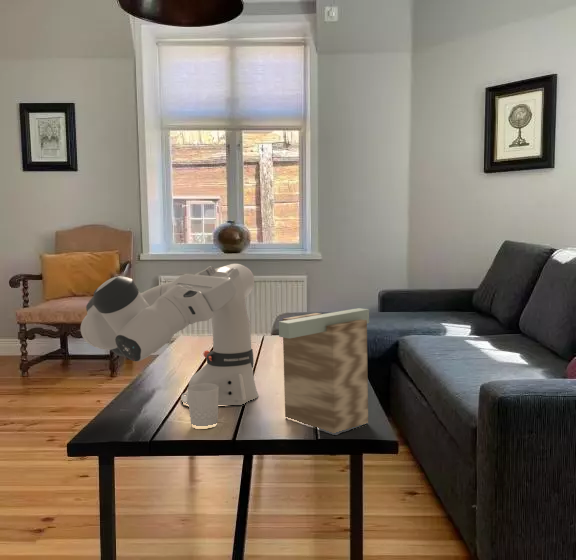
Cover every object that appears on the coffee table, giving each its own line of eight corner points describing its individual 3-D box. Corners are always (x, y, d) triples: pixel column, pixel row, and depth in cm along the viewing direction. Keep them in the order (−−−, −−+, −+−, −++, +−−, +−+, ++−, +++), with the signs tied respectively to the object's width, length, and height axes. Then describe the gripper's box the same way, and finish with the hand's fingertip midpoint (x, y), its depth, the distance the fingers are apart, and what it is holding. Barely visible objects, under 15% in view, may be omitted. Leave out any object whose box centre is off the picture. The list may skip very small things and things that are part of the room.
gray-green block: (289, 338, 140) (288, 323, 139) (279, 336, 142) (278, 321, 142) (369, 323, 157) (369, 309, 157) (358, 321, 160) (358, 308, 160)
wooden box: (334, 436, 148) (332, 326, 145) (285, 419, 161) (282, 318, 158) (368, 424, 155) (366, 320, 153) (318, 408, 169) (316, 312, 166)
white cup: (221, 420, 162) (219, 382, 161) (218, 430, 154) (217, 391, 153) (190, 421, 162) (189, 383, 161) (187, 431, 154) (185, 392, 153)
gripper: (164, 311, 147) (205, 278, 154) (213, 321, 131) (256, 283, 138) (151, 289, 144) (194, 257, 151) (199, 297, 129) (244, 260, 136)
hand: (224, 269), depth 145 cm, fingers open, 8 cm apart
